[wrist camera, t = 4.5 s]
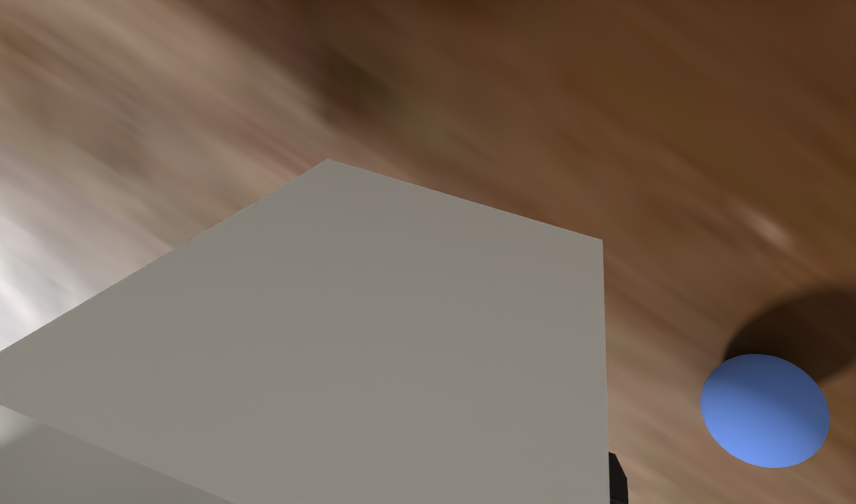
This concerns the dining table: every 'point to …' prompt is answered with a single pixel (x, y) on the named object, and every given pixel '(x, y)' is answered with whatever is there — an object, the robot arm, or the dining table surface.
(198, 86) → the dining table surface
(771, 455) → the ball
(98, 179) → the dining table surface
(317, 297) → the white matte cube
